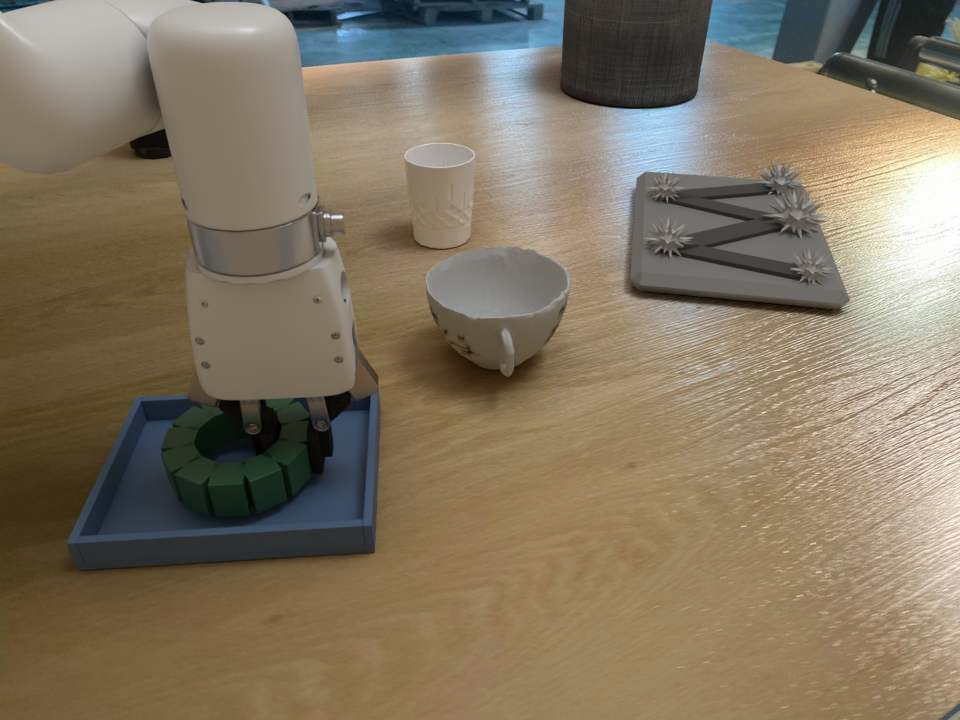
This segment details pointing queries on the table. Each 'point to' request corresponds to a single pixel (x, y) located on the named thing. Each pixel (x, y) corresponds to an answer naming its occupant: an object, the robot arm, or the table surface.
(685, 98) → the planter
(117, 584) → the table surface
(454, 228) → the white cup
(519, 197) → the table surface
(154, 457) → the tray
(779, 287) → the decorative plate
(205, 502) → the ring
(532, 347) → the teacup
